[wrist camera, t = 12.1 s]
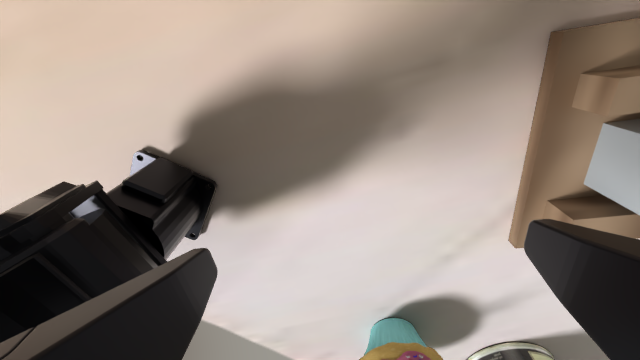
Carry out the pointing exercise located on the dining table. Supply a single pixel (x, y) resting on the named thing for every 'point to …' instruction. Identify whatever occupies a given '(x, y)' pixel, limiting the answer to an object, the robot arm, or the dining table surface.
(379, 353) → the cupcake
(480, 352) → the coffee can
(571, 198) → the brown wooden holder
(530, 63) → the dining table surface
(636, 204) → the block
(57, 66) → the dining table surface
